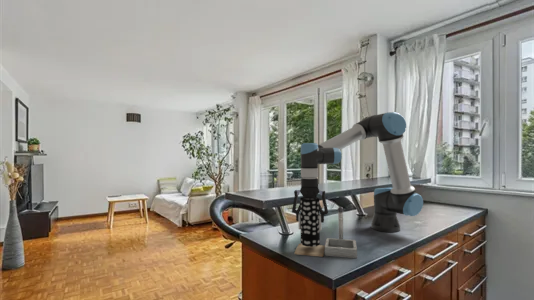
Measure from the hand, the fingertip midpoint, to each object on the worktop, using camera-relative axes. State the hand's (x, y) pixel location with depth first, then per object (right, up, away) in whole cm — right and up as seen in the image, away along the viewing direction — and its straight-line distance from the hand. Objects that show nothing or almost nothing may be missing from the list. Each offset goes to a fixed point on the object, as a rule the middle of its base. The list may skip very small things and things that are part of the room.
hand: (310, 229), depth 122 cm
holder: (+14, -9, 0) cm, 16 cm away
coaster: (0, -9, 0) cm, 9 cm away
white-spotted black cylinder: (0, -7, 0) cm, 7 cm away
